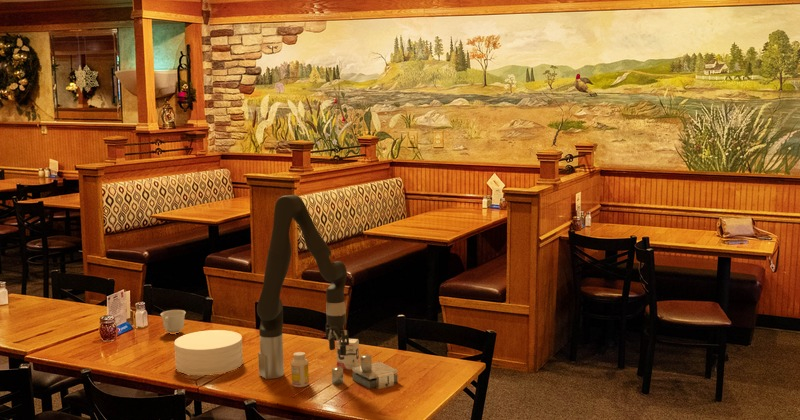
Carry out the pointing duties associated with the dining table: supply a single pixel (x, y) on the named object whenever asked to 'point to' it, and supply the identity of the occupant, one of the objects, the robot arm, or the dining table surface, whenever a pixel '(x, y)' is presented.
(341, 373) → the cylinder
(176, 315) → the teacup
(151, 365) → the dining table surface
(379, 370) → the pan
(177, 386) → the dining table surface
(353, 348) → the ink box
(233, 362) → the plate stack
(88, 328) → the dining table surface
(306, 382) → the supplement bottle
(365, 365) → the cylinder
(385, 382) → the scale base
